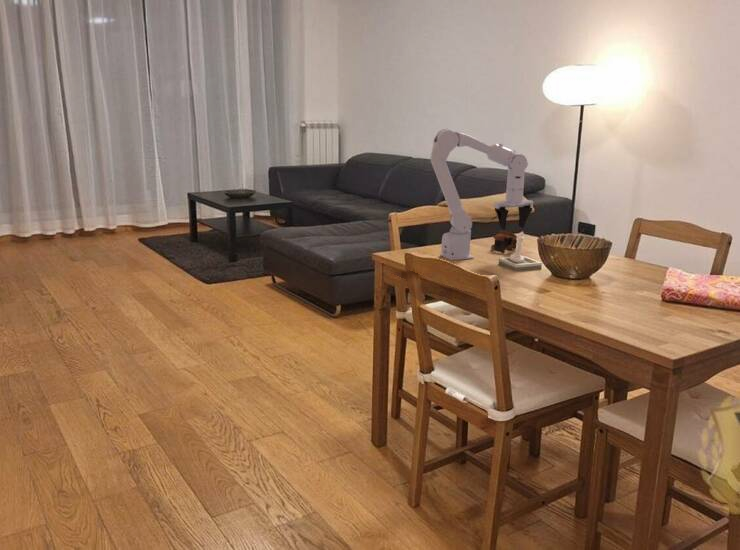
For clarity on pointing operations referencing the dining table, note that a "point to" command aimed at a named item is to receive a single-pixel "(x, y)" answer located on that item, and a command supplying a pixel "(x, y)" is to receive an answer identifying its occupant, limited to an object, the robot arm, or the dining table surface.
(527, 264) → the picture frame
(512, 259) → the chess piece
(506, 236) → the pottery mug
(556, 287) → the dining table surface
